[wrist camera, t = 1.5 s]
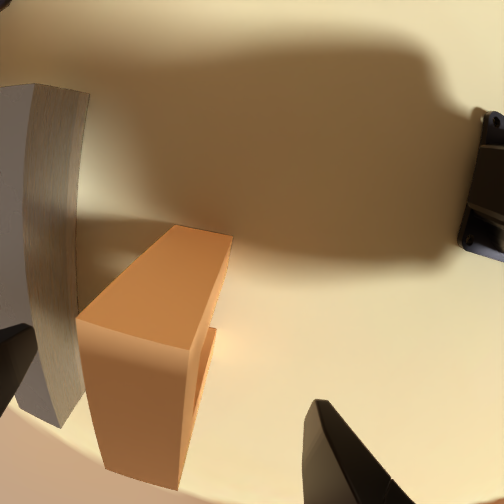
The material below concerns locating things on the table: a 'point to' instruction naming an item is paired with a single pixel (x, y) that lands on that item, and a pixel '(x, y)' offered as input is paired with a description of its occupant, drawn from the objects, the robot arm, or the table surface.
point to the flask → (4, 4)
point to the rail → (42, 238)
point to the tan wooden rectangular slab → (153, 353)
